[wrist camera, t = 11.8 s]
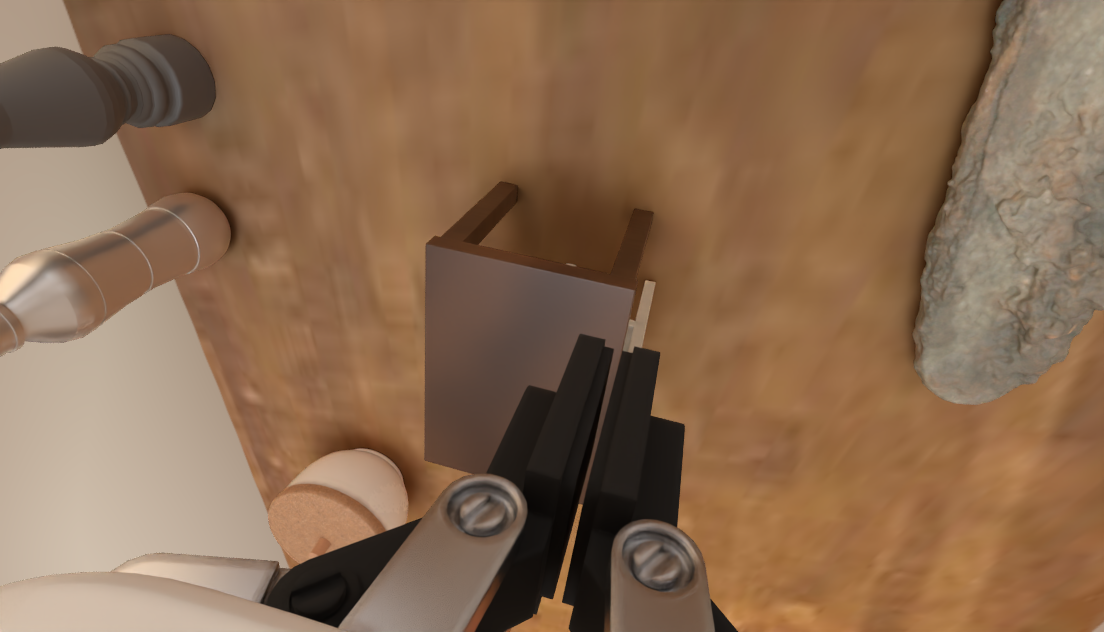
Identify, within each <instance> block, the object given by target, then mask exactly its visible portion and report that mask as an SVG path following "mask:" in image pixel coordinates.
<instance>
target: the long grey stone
mask: <svg viewBox="0 0 1104 632" xmlns="http://www.w3.org/2000/svg"><path fill="white" fill-rule="evenodd" d="M995 22H996V23H997V25H996V27H995V28H994V29H993V33H992V34H993V42H994V45H993V48H992V49H991V50H990V53H991V55H992V61H991V63H990V66H989V69H988V72H987V73H986V75H985V79H984V82H983V84H982V86H981V88H980V91H979V95H978V98H977V101H976V102H975V103H974V104H973V105H972V107H971V108H970V112H969V113H968V114H967V116H966V119H965V121H964V123H963V125H962V130H961V136H962V143H961V146H960V148H959V150H958V152H957V153H958V156H957V157H956V158H955V163H954V164H953V165H952V170H953V172H952V179H951V180H950V181H948V183H947V184H948V185H949V188H948V189H947V192H946V199H945V202H944V204H943V205H942V207H941V209H940V210H939V213H938V215H937V218H936V221H935V226H934V227H933V229H932V230H931V232H930V233H929V235H928V238H927V239H928V240H927V244H926V251H925V257H924V259H925V261H926V266H925V268H924V270H923V274H922V276H921V278H920V283H921V288H922V290H921V301H920V309H919V313H918V316H917V317H916V322H915V326H916V327H915V329H914V331H913V333H912V336H913V338H914V341H915V344H916V350H915V356H916V358H915V359H914V368H915V370H916V372H917V374H918V375H919V376H920V378H921V380H922V383H923V384H924V385H925V386H926V387H927V388H928V389H929V390H930V391H932V392H933V393H934V394H936V395H937V396H938V397H940V398H941V399H943V400H946V401H949V402H952V403H958V404H972V405H978V404H981V403H986V402H990V401H993V400H995V399H997V398H999V397H1001V396H1003V395H1005V394H1006V393H1008V392H1009V391H1011V390H1012V389H1014V388H1017V387H1018V386H1019V385H1022V384H1033V383H1036V382H1037V380H1038V378H1039V376H1041V375H1042V374H1044V373H1046V372H1047V371H1048V370H1049V368H1050V367H1051V365H1052V364H1055V363H1058V362H1062V361H1064V359H1065V358H1066V356H1067V355H1068V352H1069V351H1068V349H1069V348H1070V343H1071V341H1072V339H1073V338H1074V337H1075V336H1076V335H1078V334H1080V332H1081V331H1082V328H1083V326H1084V325H1086V324H1087V323H1088V322H1089V320H1090V319H1091V318H1092V316H1093V312H1094V310H1104V0H1003V1H1002V2H1001V5H1000V7H999V8H998V10H997V12H996V18H995Z"/></svg>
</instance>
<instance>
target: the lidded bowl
mask: <svg viewBox="0 0 1104 632" xmlns="http://www.w3.org/2000/svg"><path fill="white" fill-rule="evenodd" d="M407 515H408V496H407V492H406V488H405V485H404V482H403V477H402V474H401V472H400V470H399V469H398V467H397V466H396V465H395V464H394V463H393V462H392V461H391V460H390V459H389V458H387V457H386V456H384V455H383V454H381V453H379V452H376V451H374V450H370V449H364V448H359V449H354V450H342V451H337V452H333V453H330V454H328V455H325V456H323V457H321V458H319V459H317V460H316V461H315V462H313V463H312V464H310V465H309V466H308V467H306V468H305V469H304V470H303V471H302V472H301V473H299V474H298V475H297V476H296V477H295V478H294V480H293V481H292V482H291V483H290V484H289V485H288V486H287V487H286V489H284V490H283V491H281V492H280V493H279V495H278V496H277V497H276V498H275V499H274V500H273V502H272V503H271V505H270V507H269V512H268V520H269V525H270V529H271V531H272V533H273V535H274V537H275V539H276V540H277V542H278V543H279V544H280V546H281V547H282V548H283V549H284V550H285V551H286V552H287V553H288V554H289V555H290V556H291V557H292V558H293V559H294V560H296V561H297V562H298V563H299V564H301V563H303V562H305V561H307V560H309V559H312V558H314V557H317V556H320V555H323V554H325V553H328V552H331V551H333V550H336V549H339V548H342V547H344V546H347V545H350V544H352V543H355V542H358V541H361V540H363V539H366V538H369V537H371V536H374V535H377V534H380V533H382V532H385V531H388V530H390V529H393V528H396V527H399V526H401V525H404V524H406V521H407Z"/></svg>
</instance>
